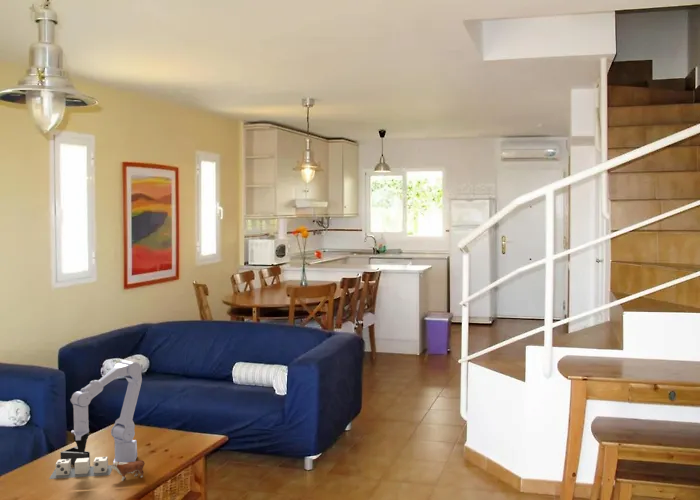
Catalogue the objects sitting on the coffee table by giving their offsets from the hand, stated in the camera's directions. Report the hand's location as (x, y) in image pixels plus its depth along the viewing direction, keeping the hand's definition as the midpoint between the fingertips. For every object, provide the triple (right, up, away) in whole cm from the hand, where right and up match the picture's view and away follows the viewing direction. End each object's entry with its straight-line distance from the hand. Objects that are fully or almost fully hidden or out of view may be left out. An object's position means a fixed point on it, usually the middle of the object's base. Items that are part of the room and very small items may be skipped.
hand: (81, 452), depth 304 cm
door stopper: (-11, -5, +13) cm, 18 cm away
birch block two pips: (+7, -8, +2) cm, 11 cm away
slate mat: (0, -9, +1) cm, 9 cm away
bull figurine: (+22, -10, -7) cm, 25 cm away
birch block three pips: (-7, -9, -1) cm, 11 cm away
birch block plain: (0, -9, +1) cm, 8 cm away
